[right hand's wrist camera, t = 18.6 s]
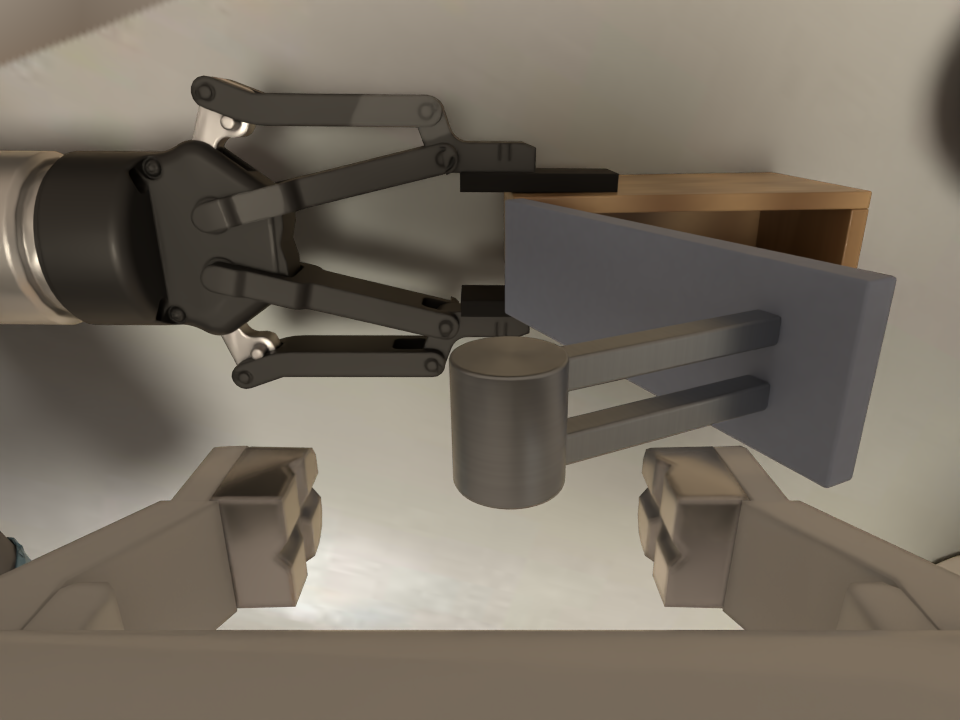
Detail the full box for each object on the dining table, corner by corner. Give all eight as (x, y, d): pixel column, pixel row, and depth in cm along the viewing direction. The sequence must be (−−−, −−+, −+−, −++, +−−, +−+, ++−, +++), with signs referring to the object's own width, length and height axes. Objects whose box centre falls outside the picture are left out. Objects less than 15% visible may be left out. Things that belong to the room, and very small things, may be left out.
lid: (899, 276, 12) (511, 347, 9) (853, 480, 14) (510, 606, 11) (523, 197, 25) (302, 214, 22) (522, 310, 27) (317, 342, 23)
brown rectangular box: (773, 172, 34) (873, 191, 25) (760, 257, 35) (850, 303, 27) (503, 176, 34) (513, 197, 25) (504, 262, 35) (512, 308, 27)
